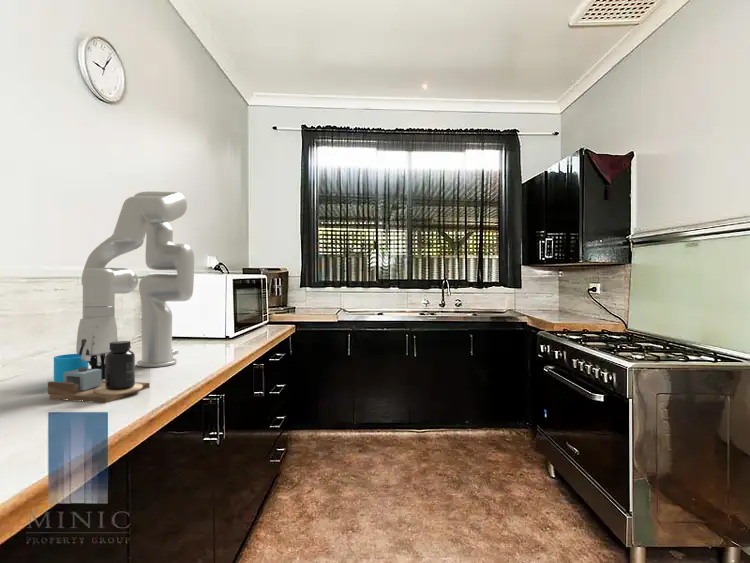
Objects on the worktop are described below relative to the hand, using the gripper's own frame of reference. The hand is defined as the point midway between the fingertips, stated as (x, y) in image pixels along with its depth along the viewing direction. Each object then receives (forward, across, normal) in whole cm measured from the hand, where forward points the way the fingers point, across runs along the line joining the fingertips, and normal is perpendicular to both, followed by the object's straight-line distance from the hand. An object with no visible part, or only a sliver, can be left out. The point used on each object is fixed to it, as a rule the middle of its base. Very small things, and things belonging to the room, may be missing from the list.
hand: (98, 379), depth 124 cm
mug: (+3, -4, -11) cm, 12 cm away
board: (+2, +4, +5) cm, 7 cm away
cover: (+1, +5, 0) cm, 5 cm away
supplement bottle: (+1, +4, +10) cm, 11 cm away
